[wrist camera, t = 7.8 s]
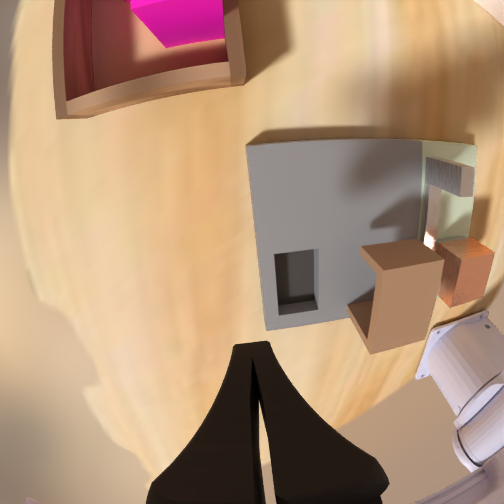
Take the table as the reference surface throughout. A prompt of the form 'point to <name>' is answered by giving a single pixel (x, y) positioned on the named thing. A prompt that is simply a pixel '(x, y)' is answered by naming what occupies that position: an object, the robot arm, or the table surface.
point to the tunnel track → (351, 233)
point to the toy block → (181, 20)
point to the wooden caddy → (138, 90)
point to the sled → (454, 248)
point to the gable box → (493, 8)
